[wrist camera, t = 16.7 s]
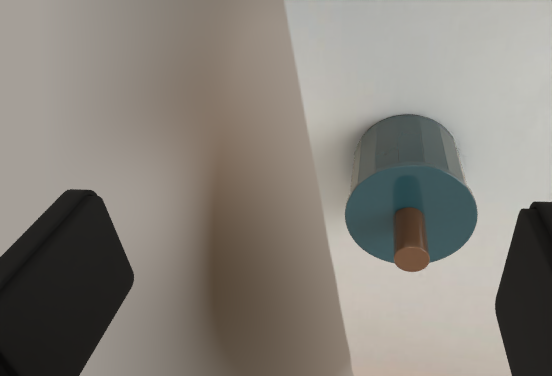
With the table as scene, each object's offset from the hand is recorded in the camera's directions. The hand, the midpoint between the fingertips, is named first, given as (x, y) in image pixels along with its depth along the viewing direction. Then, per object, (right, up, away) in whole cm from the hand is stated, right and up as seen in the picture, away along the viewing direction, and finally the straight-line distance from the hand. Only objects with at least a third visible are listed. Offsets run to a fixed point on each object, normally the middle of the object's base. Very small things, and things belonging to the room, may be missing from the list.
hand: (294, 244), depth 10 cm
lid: (+10, -1, +24) cm, 26 cm away
